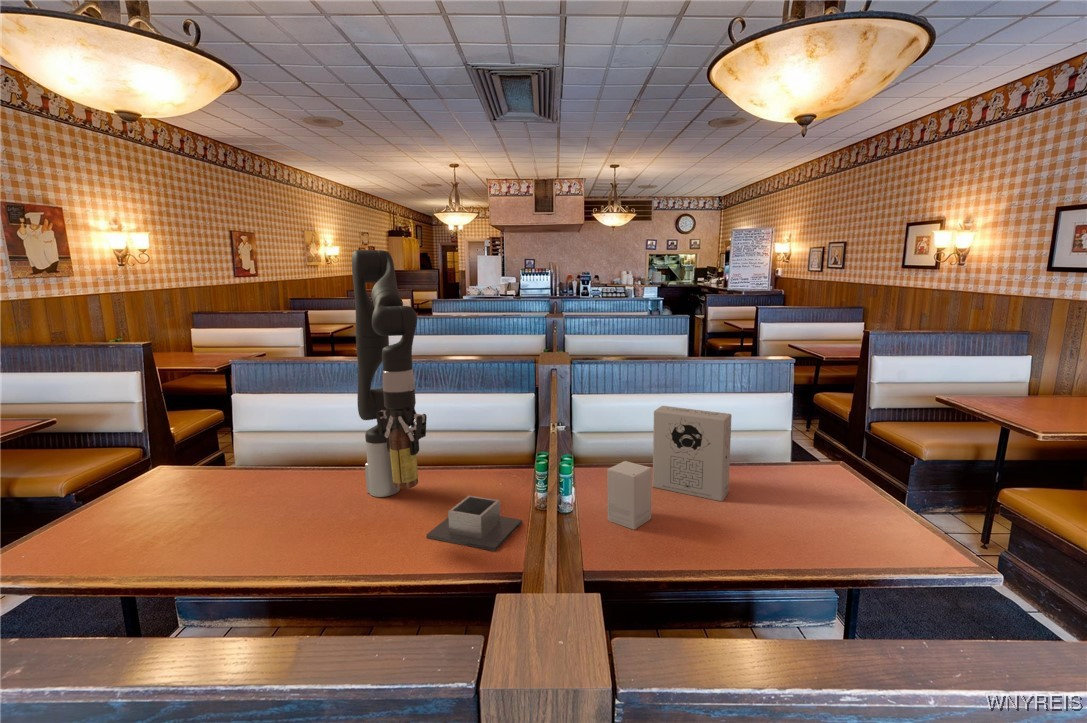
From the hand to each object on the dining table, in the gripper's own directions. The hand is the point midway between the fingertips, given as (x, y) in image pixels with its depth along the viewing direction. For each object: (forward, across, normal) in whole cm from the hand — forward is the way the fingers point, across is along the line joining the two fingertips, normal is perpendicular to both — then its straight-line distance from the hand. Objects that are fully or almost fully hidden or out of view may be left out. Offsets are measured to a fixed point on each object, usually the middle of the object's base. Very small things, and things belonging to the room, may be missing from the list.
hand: (403, 452), depth 134 cm
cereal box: (+24, +63, +58) cm, 88 cm away
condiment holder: (+24, +14, +11) cm, 29 cm away
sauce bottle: (+9, 0, 0) cm, 9 cm away
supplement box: (+24, +50, +31) cm, 64 cm away
